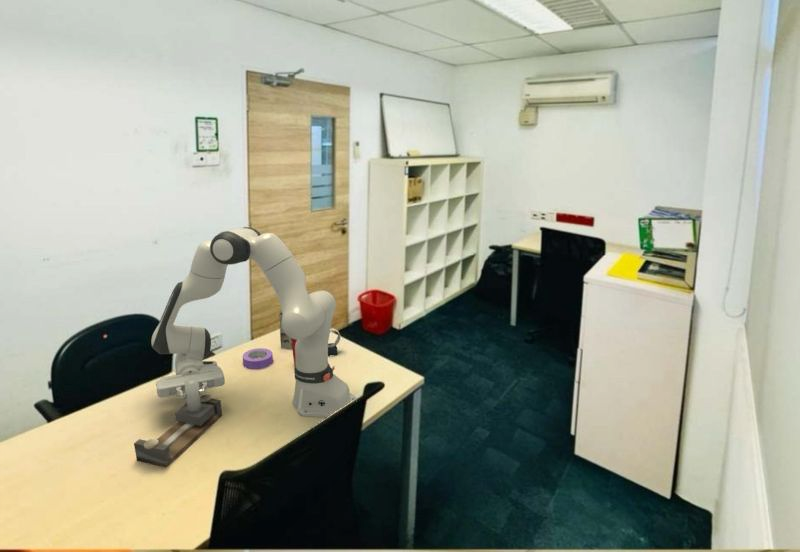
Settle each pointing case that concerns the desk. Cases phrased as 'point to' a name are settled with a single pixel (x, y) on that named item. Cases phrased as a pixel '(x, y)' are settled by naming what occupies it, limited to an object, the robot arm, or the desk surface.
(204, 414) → the carriage
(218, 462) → the desk surface
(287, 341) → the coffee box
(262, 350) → the masking tape
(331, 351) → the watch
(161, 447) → the rail
